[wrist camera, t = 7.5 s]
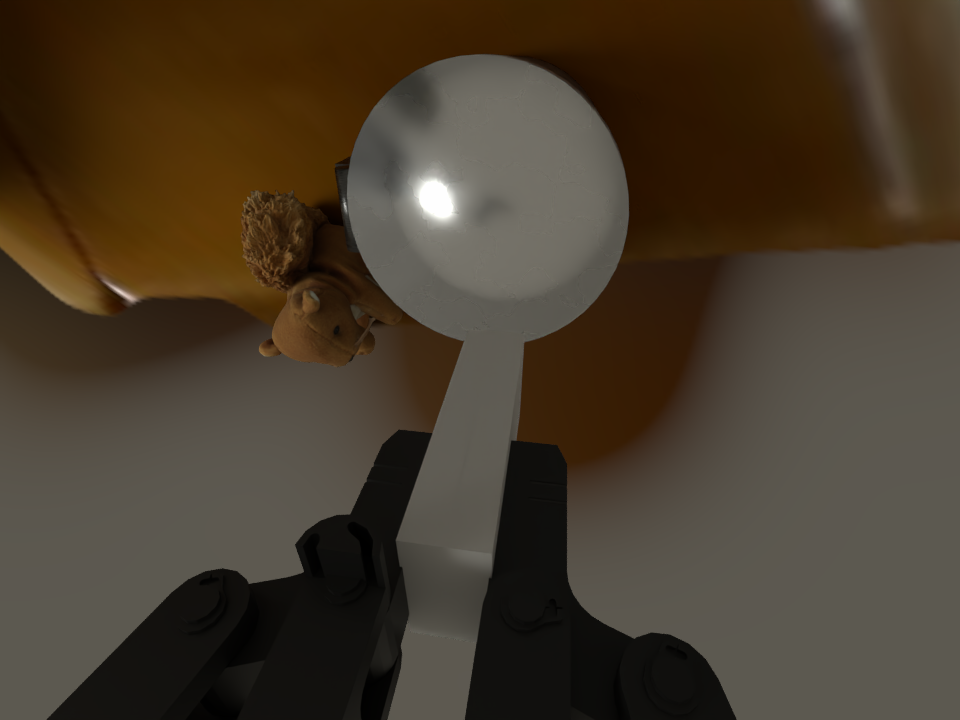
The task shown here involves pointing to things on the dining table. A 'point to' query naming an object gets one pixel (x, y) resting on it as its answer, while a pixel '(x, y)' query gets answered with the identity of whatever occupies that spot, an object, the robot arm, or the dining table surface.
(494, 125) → the lid
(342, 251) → the stuffed squirrel
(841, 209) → the dining table surface
